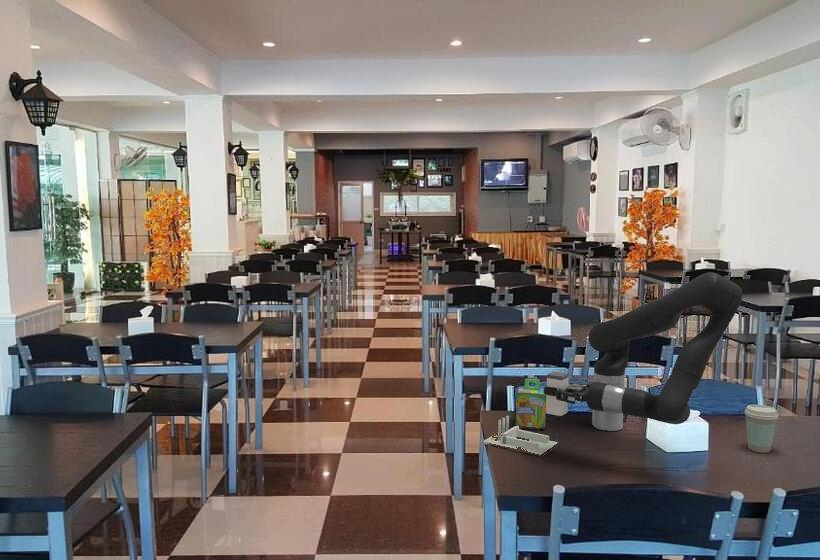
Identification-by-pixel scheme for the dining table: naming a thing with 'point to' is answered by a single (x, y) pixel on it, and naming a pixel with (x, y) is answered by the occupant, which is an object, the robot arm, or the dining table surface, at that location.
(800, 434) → the dining table surface
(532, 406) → the chalk box
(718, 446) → the dining table surface
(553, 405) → the block
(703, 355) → the robot arm
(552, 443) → the header socket
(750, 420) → the coffee cup
